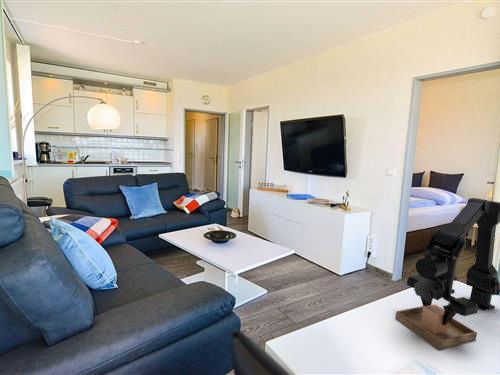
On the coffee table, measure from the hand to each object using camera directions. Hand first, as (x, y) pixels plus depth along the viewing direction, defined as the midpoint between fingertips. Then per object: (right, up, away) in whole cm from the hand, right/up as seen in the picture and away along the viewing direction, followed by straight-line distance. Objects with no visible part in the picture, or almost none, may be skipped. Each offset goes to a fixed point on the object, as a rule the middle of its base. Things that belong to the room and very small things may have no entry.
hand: (435, 319), depth 88 cm
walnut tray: (0, -3, 0) cm, 3 cm away
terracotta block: (0, -3, 0) cm, 3 cm away
